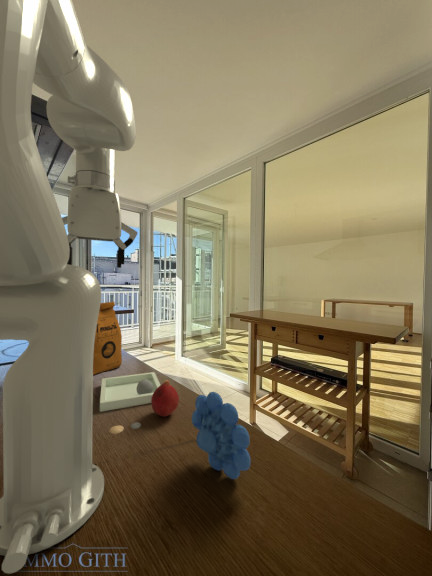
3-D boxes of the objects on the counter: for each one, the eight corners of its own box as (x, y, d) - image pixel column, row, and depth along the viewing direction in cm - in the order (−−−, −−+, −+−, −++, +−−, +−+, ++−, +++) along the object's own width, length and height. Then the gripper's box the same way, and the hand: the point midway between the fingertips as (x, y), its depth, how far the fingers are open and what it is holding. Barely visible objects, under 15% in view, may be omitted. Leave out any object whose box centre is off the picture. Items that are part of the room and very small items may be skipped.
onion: (161, 428, 49) (162, 389, 49) (145, 416, 53) (146, 380, 52) (183, 416, 53) (184, 380, 53) (167, 407, 57) (168, 373, 57)
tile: (149, 434, 47) (149, 431, 47) (103, 445, 44) (103, 441, 44) (145, 418, 52) (145, 415, 52) (104, 426, 49) (104, 423, 49)
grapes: (173, 465, 39) (174, 392, 39) (202, 444, 44) (203, 379, 44) (230, 511, 32) (233, 421, 31) (257, 480, 37) (260, 402, 36)
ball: (154, 398, 60) (154, 382, 60) (137, 401, 58) (137, 384, 58) (151, 391, 64) (151, 376, 63) (135, 393, 62) (135, 378, 62)
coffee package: (126, 368, 81) (126, 302, 80) (88, 380, 71) (88, 304, 70) (109, 361, 86) (109, 300, 86) (72, 372, 76) (72, 302, 76)
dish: (163, 402, 59) (164, 392, 59) (99, 414, 53) (99, 403, 53) (154, 380, 72) (154, 372, 72) (101, 387, 66) (101, 378, 66)
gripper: (43, 171, 45) (43, 263, 46) (140, 188, 53) (139, 267, 53) (50, 184, 52) (50, 265, 53) (135, 198, 59) (134, 268, 60)
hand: (95, 266), depth 53 cm, fingers open, 9 cm apart
